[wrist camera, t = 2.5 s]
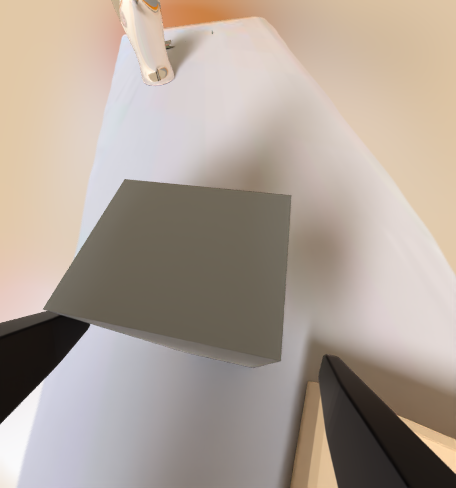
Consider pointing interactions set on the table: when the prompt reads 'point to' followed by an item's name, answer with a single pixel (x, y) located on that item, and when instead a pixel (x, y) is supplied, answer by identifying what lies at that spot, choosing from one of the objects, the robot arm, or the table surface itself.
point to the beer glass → (146, 38)
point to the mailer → (318, 455)
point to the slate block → (186, 270)
